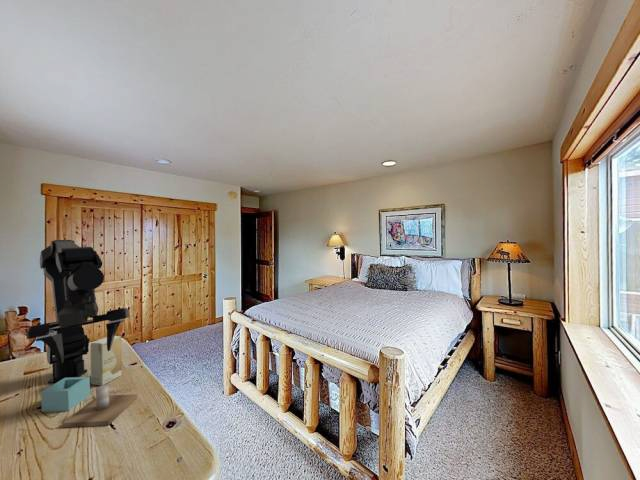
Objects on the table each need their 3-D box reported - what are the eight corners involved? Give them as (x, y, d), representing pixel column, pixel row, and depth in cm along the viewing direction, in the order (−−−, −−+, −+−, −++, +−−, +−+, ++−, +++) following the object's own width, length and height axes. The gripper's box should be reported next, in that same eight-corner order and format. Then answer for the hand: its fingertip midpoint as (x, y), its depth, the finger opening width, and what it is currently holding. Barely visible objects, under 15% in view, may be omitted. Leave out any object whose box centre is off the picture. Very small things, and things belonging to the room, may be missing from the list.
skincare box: (102, 386, 76) (101, 344, 76) (90, 384, 77) (88, 343, 77) (123, 374, 82) (122, 335, 82) (111, 373, 83) (110, 334, 83)
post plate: (63, 427, 60) (62, 401, 60) (98, 399, 70) (97, 377, 70) (108, 425, 60) (107, 399, 60) (137, 397, 70) (136, 375, 70)
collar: (41, 411, 65) (41, 391, 65) (65, 395, 72) (64, 377, 72) (68, 410, 66) (68, 390, 65) (90, 395, 72) (89, 376, 72)
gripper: (11, 303, 57) (15, 378, 55) (118, 286, 66) (125, 350, 64) (36, 303, 67) (41, 366, 65) (126, 287, 76) (133, 343, 74)
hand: (86, 356), depth 67 cm, fingers open, 9 cm apart
